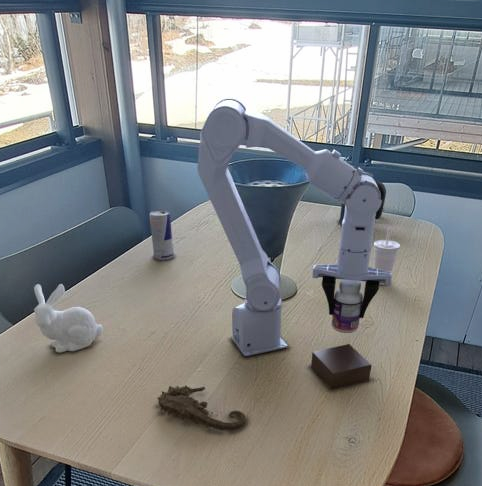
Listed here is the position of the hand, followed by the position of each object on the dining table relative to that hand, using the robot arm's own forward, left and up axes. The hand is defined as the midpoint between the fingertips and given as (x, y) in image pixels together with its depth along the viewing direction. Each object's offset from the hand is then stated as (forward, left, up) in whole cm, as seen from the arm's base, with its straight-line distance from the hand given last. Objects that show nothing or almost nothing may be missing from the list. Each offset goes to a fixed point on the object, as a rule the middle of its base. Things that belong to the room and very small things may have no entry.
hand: (346, 314), depth 104 cm
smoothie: (+25, +24, -7) cm, 35 cm away
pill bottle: (0, 0, -3) cm, 3 cm away
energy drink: (-22, +60, -7) cm, 64 cm away
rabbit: (-52, +21, -7) cm, 57 cm away
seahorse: (-34, -10, -7) cm, 36 cm away
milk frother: (+46, +68, -7) cm, 82 cm away
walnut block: (-6, -9, -7) cm, 13 cm away
